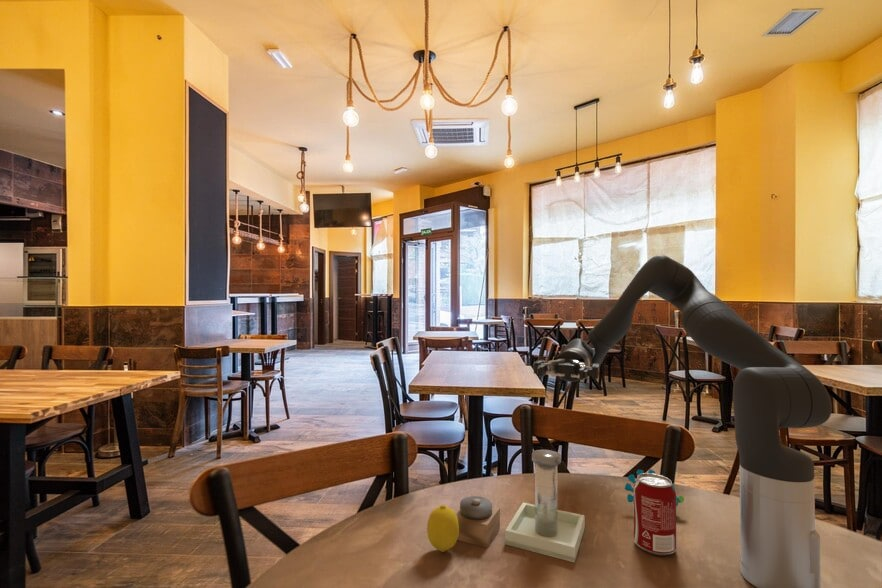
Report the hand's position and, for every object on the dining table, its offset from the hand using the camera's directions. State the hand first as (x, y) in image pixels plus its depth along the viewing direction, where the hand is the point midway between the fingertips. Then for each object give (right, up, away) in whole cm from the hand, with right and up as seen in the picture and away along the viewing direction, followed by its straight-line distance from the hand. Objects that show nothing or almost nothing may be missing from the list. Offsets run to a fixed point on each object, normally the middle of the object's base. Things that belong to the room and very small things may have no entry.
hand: (560, 373), depth 93 cm
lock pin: (-6, -27, -13) cm, 31 cm away
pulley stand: (-19, -28, -12) cm, 36 cm away
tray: (-6, -28, -13) cm, 31 cm away
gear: (+18, -28, -3) cm, 34 cm away
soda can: (+12, -28, -17) cm, 35 cm away
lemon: (-26, -28, -18) cm, 42 cm away
